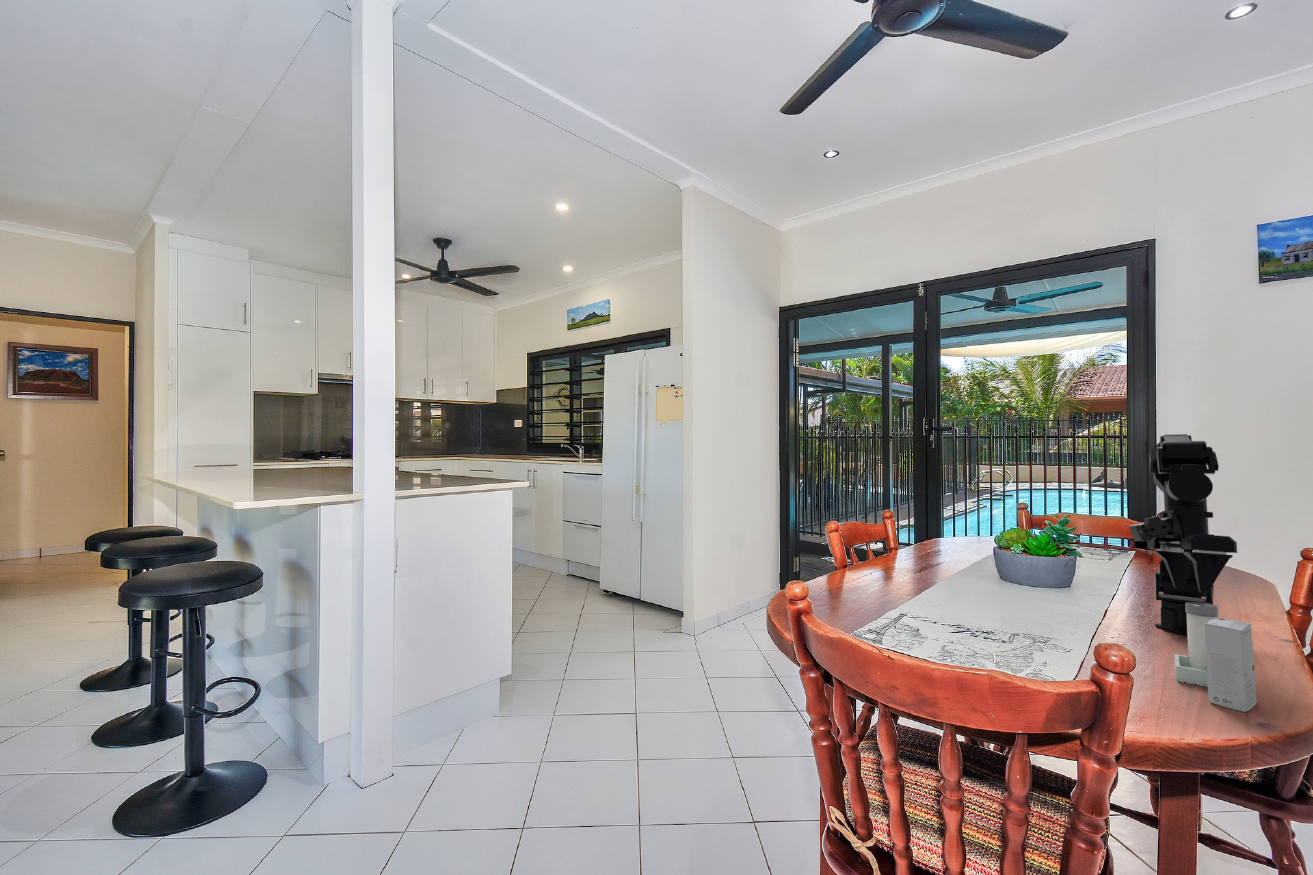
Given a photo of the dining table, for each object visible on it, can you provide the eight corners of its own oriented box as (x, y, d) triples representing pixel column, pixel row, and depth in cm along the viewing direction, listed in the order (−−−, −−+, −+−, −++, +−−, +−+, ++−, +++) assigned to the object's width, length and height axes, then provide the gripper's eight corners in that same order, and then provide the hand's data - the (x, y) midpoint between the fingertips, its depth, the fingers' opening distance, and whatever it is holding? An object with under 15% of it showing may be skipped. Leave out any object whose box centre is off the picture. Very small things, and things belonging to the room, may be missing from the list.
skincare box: (1247, 713, 82) (1244, 630, 83) (1205, 702, 86) (1203, 623, 87) (1257, 702, 86) (1254, 623, 86) (1217, 692, 90) (1214, 616, 90)
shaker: (1201, 671, 97) (1198, 601, 97) (1228, 680, 93) (1225, 607, 93) (1181, 672, 96) (1178, 602, 97) (1207, 682, 92) (1204, 608, 93)
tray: (1174, 668, 100) (1174, 654, 100) (1232, 678, 95) (1232, 663, 95) (1176, 680, 94) (1175, 665, 94) (1238, 692, 89) (1237, 677, 89)
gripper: (1114, 506, 118) (1117, 581, 116) (1154, 500, 101) (1158, 589, 99) (1182, 509, 114) (1186, 588, 112) (1235, 504, 97) (1242, 597, 94)
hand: (1190, 590), depth 104 cm, fingers open, 9 cm apart
